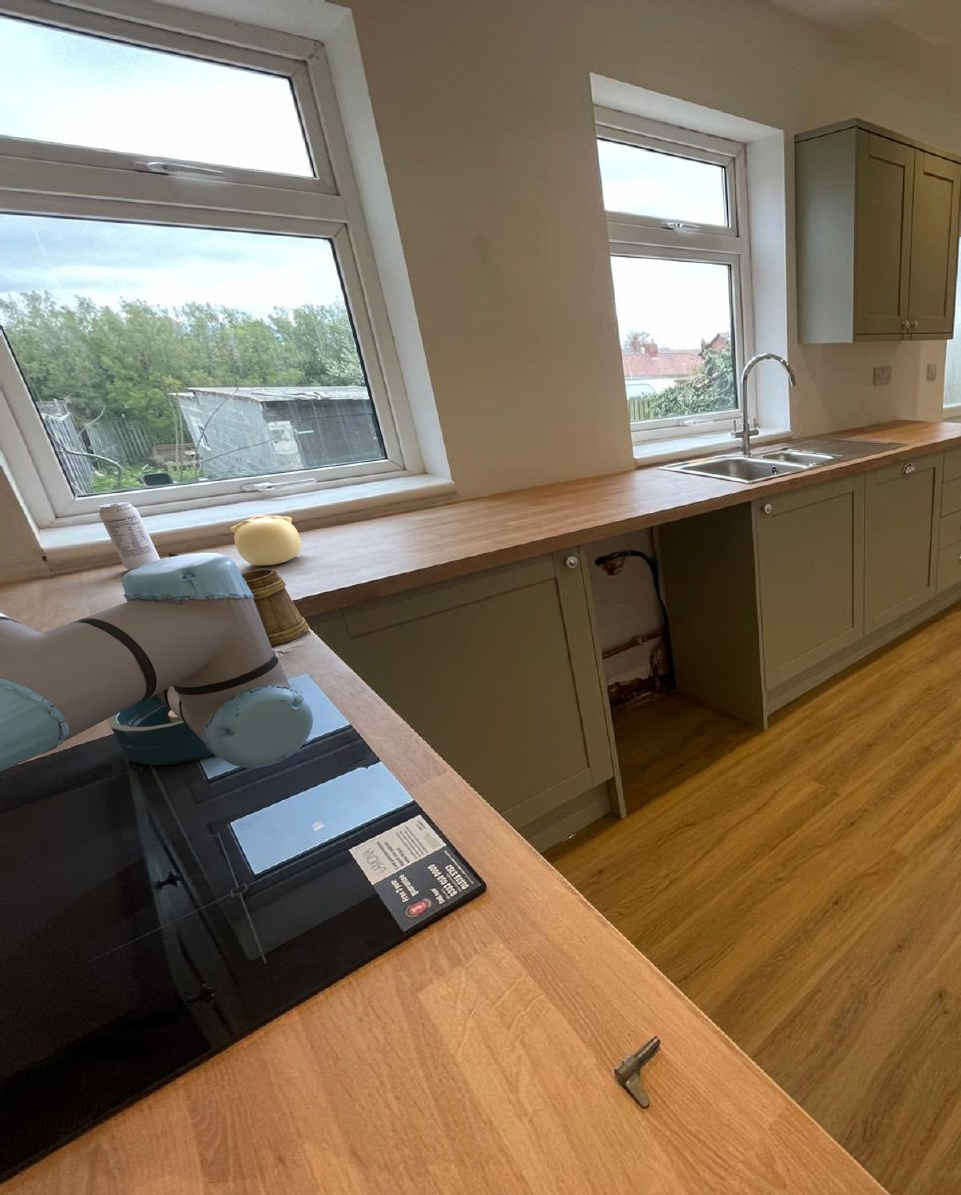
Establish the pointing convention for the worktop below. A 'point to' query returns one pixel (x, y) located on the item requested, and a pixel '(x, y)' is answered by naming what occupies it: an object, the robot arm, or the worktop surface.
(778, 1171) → the worktop surface
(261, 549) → the yellow persimmon
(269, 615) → the wooden mug
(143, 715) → the bowl
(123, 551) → the energy drink can
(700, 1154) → the worktop surface
